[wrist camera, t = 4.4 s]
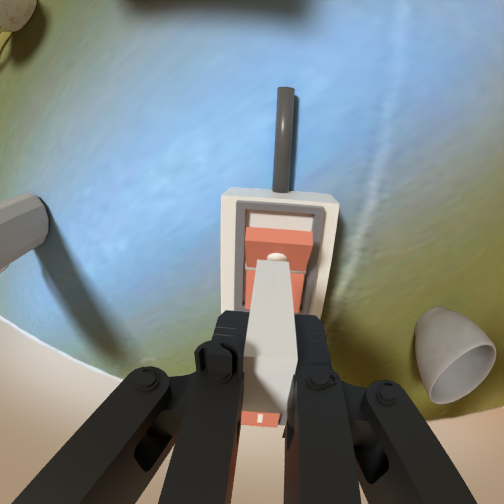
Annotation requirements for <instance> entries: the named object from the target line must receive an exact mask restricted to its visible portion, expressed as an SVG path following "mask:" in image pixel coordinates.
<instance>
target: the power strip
mask: <svg viewBox="0 0 504 504" xmlns="http://www.w3.org/2000/svg"><path fill="white" fill-rule="evenodd" d="M294 91H295V89H294V88H290V87H278V91H277V113H276V133H275V152H274V170H273V187H272V189H259V188H241V187H229V188H228V189H227V190H226V191H225V192H224V193H223V194H222V195H221V314H222V313H223V312H224V311H225V310H230V311H242V312H250V309H245V298H246V271H247V270H245V264H246V252H245V234H246V227H257V228H272V229H285V230H298V231H311V232H313V247H312V250H311V254H310V257H309V260H308V264H307V270H306V274H304V282H303V289H302V295H301V302H300V309H299V313H294V314H301V315H316V316H317V317H318V318H319V320H320V319H321V314H322V309H323V304H324V299H325V294H326V288H327V283H328V278H329V272H330V266H331V260H332V254H333V247H334V241H335V234H336V227H337V220H338V212H339V203H338V202H337V201H336V200H335V199H334V198H333V197H332V196H331V195H330V194H322V193H312V192H300V191H289V180H290V166H291V150H292V133H293V113H294ZM286 421H287V410H286V414H281V413H280V416H279V421H278V425H285V423H286Z"/></svg>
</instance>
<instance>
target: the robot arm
mask: <svg viewBox="0 0 504 504" xmlns="http://www.w3.org/2000/svg"><path fill="white" fill-rule="evenodd" d="M324 333H325V332H324V327H323V323H322V322H321V321H320V320H319V318H318V317H317V316H316V315H301V314H294V308H293V298H292V287H291V278H290V268H289V262H286V261H271V260H257V265H256V272H255V279H254V286H253V293H252V300H251V307H250V312H242V311H230V310H225V311H224V312H223V313H222V314H221V315H220V316H219V317H218V320H217V323H216V328H215V330H214V334H213V337H212V340H211V341H207V342H204V343H203V344H201V345H200V346H198V347H197V349H196V350H195V352H194V354H195V362H196V372H194V373H192V374H189V375H184V376H175V377H168V376H167V374H166V373H165V372H164V371H163V370H161V369H159V368H156V367H152V366H149V367H141V368H138V369H135V370H134V371H133V372H131V373H130V374H129V375H128V376H127V377H126V378H125V379H124V380H123V381H122V382H121V383H120V385H119V386H118V387H117V388H116V389H115V390H114V391H113V392H112V393H111V394H110V395H109V396H108V398H107V399H106V400H105V401H104V402H103V403H102V404H101V405H100V406H99V407H98V408H97V409H96V411H95V412H94V413H93V414H92V415H91V416H90V417H89V418H88V419H87V420H86V422H85V423H84V424H83V425H82V426H81V427H80V428H79V429H78V430H77V431H76V432H75V434H74V435H73V436H72V437H71V438H70V439H69V440H68V441H67V442H66V443H65V445H64V446H63V447H62V448H61V449H60V450H59V451H58V452H57V453H56V454H55V456H54V457H53V458H52V459H51V460H50V461H49V462H48V463H47V464H46V466H45V467H44V468H43V469H42V470H41V471H40V472H39V473H38V475H37V476H36V477H35V478H34V479H33V480H32V481H31V482H30V483H29V485H28V486H27V487H26V488H25V489H24V490H23V491H22V492H21V493H20V495H19V496H18V497H17V498H16V499H15V500H14V501H13V503H12V504H135V503H136V501H137V500H138V499H139V497H140V496H141V494H142V493H143V491H144V490H145V488H146V487H147V485H148V484H149V482H150V481H151V479H152V478H153V476H154V475H155V473H156V472H157V470H158V469H159V467H160V466H161V464H162V463H163V461H164V460H165V458H166V457H167V455H168V454H169V452H170V450H171V449H172V447H173V446H174V444H175V446H174V450H173V453H172V456H171V460H170V463H169V467H168V470H167V474H166V477H165V481H164V484H163V488H162V491H161V495H160V498H159V502H158V504H230V503H231V497H232V490H233V481H234V474H235V466H236V459H237V451H238V444H239V436H240V428H241V414H242V411H248V412H261V413H281V414H286V410H287V421H286V426H285V429H284V433H283V436H282V437H283V438H285V475H284V504H361V497H360V489H359V483H360V485H361V487H362V490H363V492H364V494H365V497H366V499H367V501H368V503H369V504H477V502H476V501H475V499H474V497H473V495H472V494H471V492H470V490H469V489H468V487H467V485H466V484H465V482H464V480H463V479H462V477H461V475H460V474H459V472H458V471H457V469H456V467H455V466H454V464H453V462H452V461H451V459H450V458H449V456H448V455H447V453H446V451H445V450H444V448H443V447H442V445H441V444H440V442H439V441H438V439H437V437H436V436H435V435H434V433H433V432H432V430H431V428H430V427H429V425H428V424H427V422H426V421H425V419H424V418H423V416H422V415H421V414H420V412H419V411H418V409H417V408H416V406H415V405H414V403H413V402H412V400H411V399H410V398H409V396H408V395H407V393H406V392H405V390H404V389H403V388H402V387H401V386H400V385H399V384H397V383H395V382H393V381H389V380H377V381H375V382H373V383H371V384H370V386H369V387H368V388H362V387H358V386H353V385H350V384H347V383H345V382H343V381H341V380H340V378H339V376H338V374H337V373H336V372H334V371H333V369H332V365H331V360H330V355H329V350H328V346H327V341H326V336H325V334H324Z"/></svg>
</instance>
